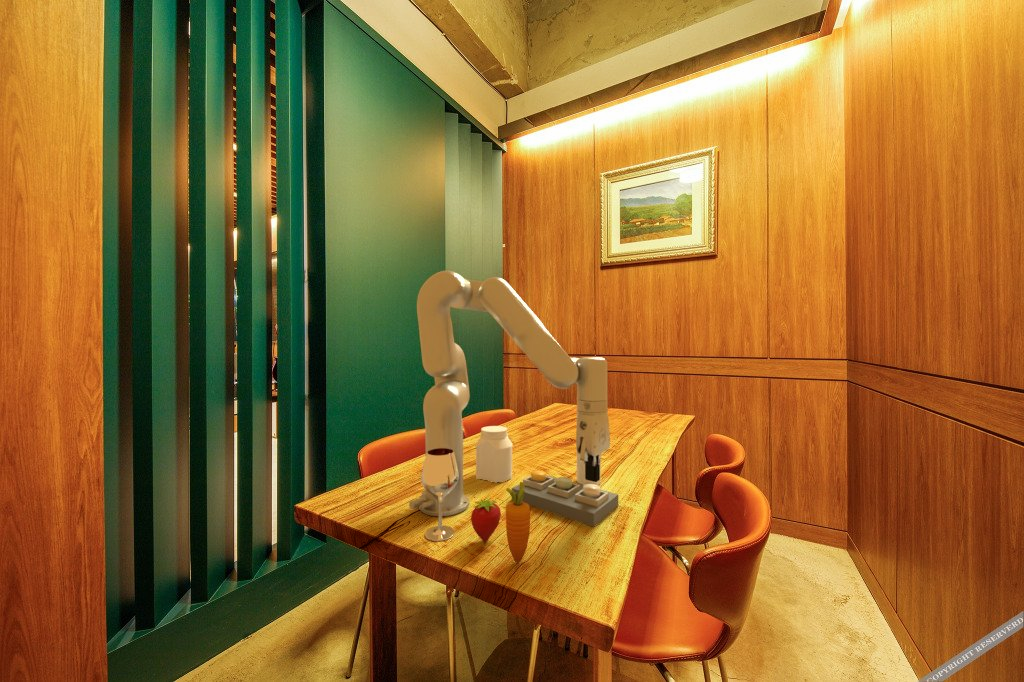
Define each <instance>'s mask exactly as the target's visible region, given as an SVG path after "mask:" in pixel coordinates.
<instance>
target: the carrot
mask: <svg viewBox="0 0 1024 682" xmlns="http://www.w3.org/2000/svg"><path fill="white" fill-rule="evenodd" d="M519 484H520V486H519V494H518V498H517V493H514V491H513V490H512V489H511V488H509V487H506V489H505V490H506V491H507V493H509V495H510V497H511V499H512V498H513V500H512V501H511V502H508V503H507V504H506V506H505V528H506V529H505V530H506V538H507V544H508V549H509V551H510V555H511V556H512V559H513V560H514V562H515V563H516V564H520V563H521V562H522V560H523V559H524V556H525V554H526V551H527V548H528V545H529V544H528V542H529V538H530V530H531V509H530V507H531V506H530V505H528V504H527V503H525V502H523V501H522V498H523V494H524V492H525V489H524V483H523V481H520V482H519Z"/></svg>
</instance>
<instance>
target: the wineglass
mask: <svg viewBox="0 0 1024 682" xmlns="http://www.w3.org/2000/svg"><path fill="white" fill-rule="evenodd" d="M420 477H421V478H420V482H421V485H422V486H423V488H424V490H425V489H426V490H427V491H428V492H429V493H430V494H431V495H433V496H434V497H435V498H436V499H437V500H438V516H437V519H438V521H437V522H438V523H437V525H435V526H432V527H430V528H428V529H427V530H425V533H424V537H425V538H426V539H427V540H428V541H431V542H444V541H446V540H449V539H451V538H452V537H453V536H454V535H455V529H454V528H453V527H451V526H449V525H443V516H442V501H443V499H444V498H445V496H447V495H448V494H449V493H450V492H451V491H452V490H453V489H454V488H455V486H456V485H457V483H458V480H459V471H458V466H457V462H456V458H455V455H454V451H453V450H452V449H448V448H437V449H432V450H429V451H428V452H427V455H426V454H425V458H424V463H423V467H422V471H421V475H420Z"/></svg>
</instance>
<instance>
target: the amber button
mask: <svg viewBox="0 0 1024 682" xmlns="http://www.w3.org/2000/svg"><path fill="white" fill-rule="evenodd" d="M546 475H547V472H546V471H544V470H533V471H532V472H530V476H531V480H533V481H536V482H543V481H545V480H546Z"/></svg>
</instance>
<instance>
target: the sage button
mask: <svg viewBox="0 0 1024 682" xmlns="http://www.w3.org/2000/svg"><path fill="white" fill-rule="evenodd" d="M555 478H556V487H558V488H561V489H569V488H571V487H572V482H573V479H572V478H570V477H568V476H560V477H555Z"/></svg>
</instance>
